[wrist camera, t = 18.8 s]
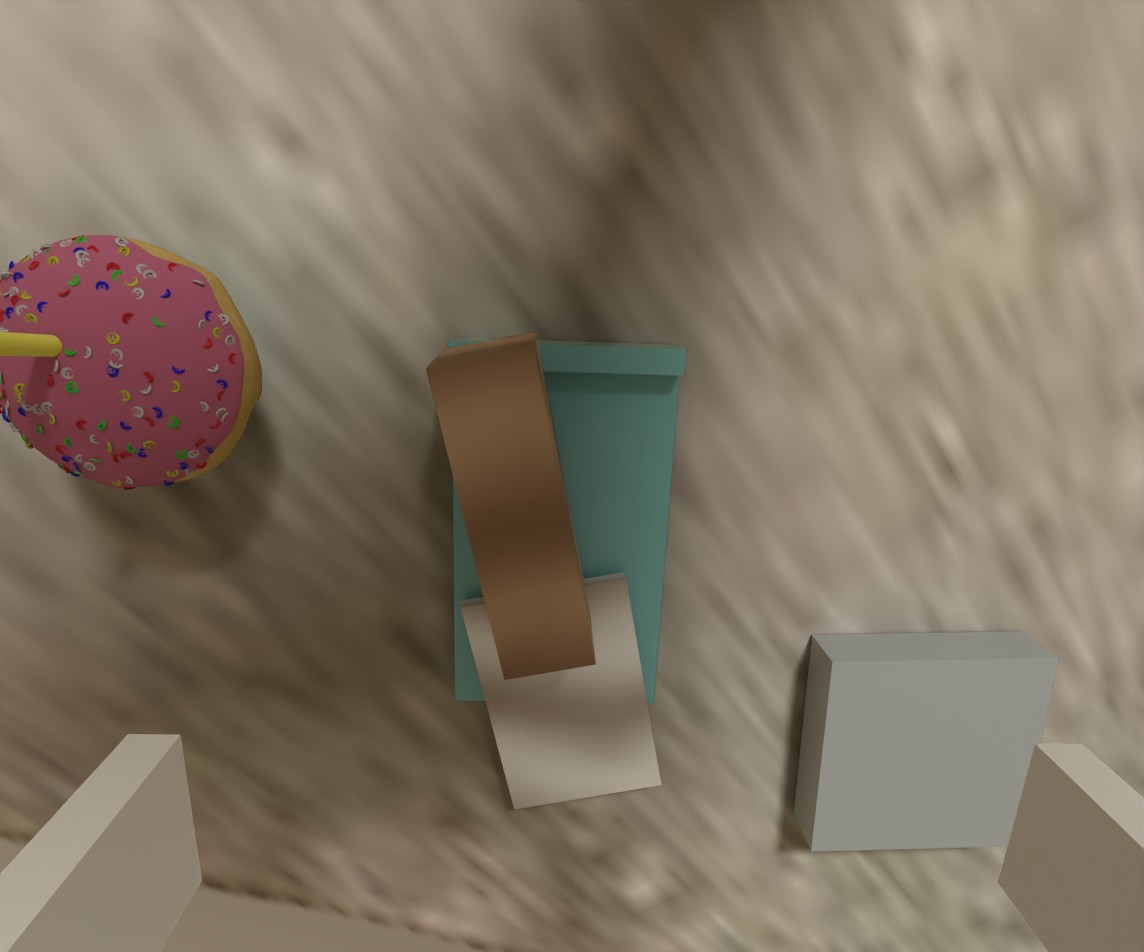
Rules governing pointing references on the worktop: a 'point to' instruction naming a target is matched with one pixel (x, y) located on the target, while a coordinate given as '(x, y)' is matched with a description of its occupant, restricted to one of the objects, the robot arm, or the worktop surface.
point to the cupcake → (124, 361)
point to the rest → (600, 479)
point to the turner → (538, 589)
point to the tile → (919, 738)
